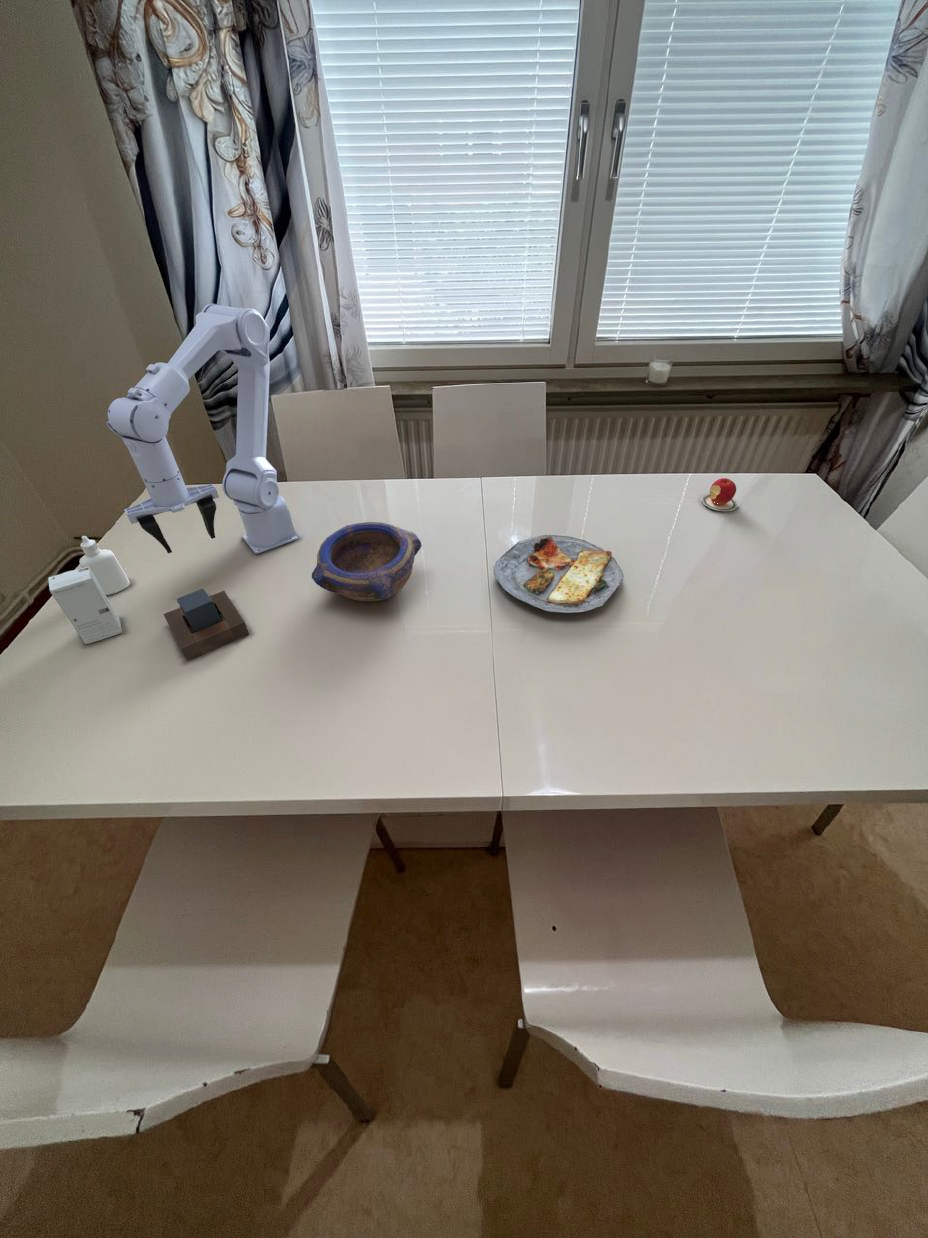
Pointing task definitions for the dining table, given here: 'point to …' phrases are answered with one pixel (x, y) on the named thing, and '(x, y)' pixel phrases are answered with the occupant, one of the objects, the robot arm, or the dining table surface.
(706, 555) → the dining table surface
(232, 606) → the frame
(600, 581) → the food plate
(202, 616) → the dark grey rectangular block
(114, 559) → the eye dropper bottle
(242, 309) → the robot arm
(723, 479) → the apple
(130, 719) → the dining table surface
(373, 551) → the bowl
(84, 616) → the cosmetic box
